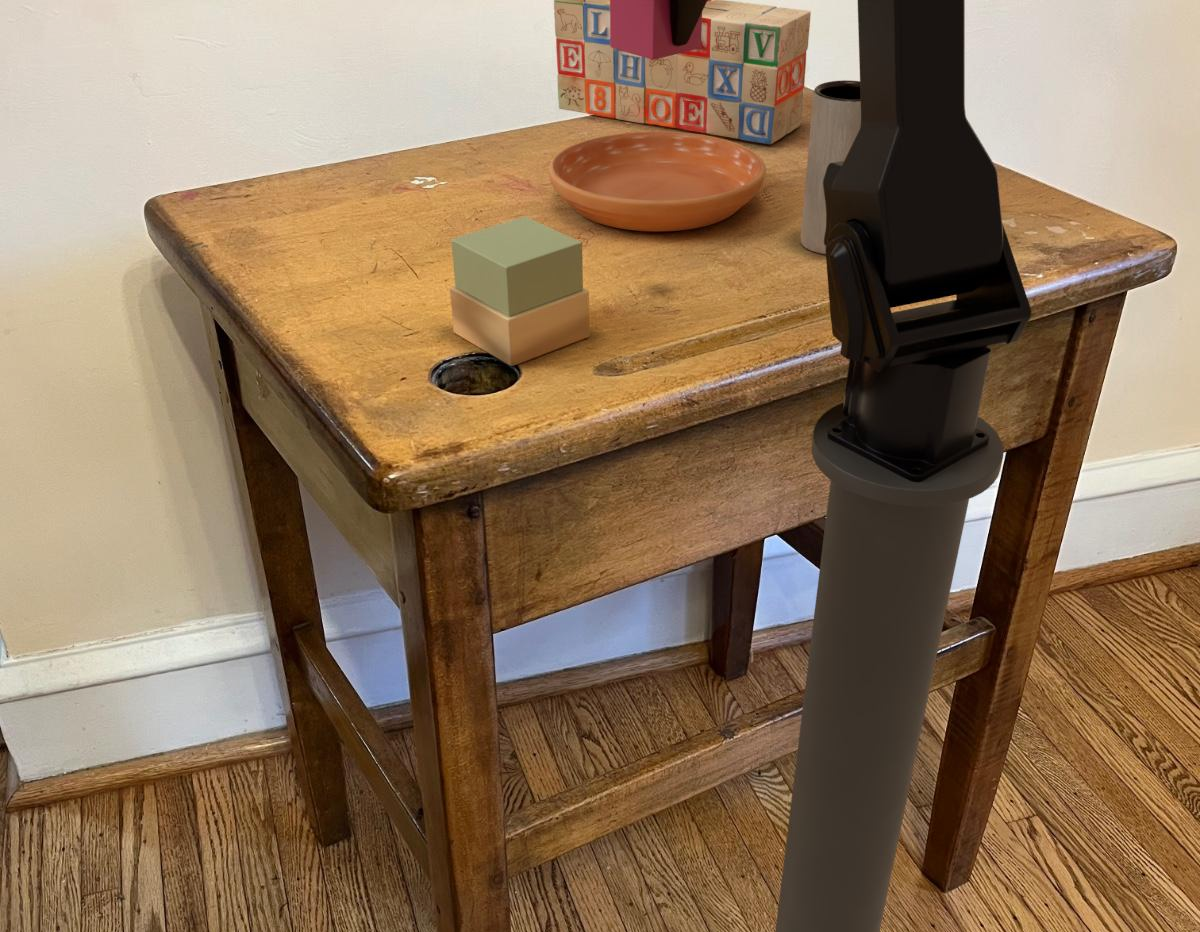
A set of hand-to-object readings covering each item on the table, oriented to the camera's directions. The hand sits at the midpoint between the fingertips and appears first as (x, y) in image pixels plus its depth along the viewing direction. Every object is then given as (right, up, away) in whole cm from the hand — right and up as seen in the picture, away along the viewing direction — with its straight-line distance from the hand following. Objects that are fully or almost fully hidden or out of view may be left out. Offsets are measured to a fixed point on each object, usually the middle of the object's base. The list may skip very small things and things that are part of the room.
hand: (656, 38), depth 85 cm
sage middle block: (-9, -20, -11) cm, 25 cm away
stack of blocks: (+3, +4, +24) cm, 24 cm away
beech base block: (-9, -23, -10) cm, 26 cm away
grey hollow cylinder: (+12, -14, +1) cm, 19 cm away
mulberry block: (0, -1, 0) cm, 1 cm away
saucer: (0, -9, +8) cm, 12 cm away
